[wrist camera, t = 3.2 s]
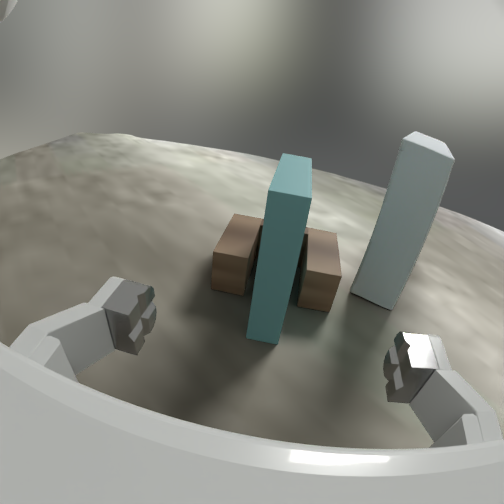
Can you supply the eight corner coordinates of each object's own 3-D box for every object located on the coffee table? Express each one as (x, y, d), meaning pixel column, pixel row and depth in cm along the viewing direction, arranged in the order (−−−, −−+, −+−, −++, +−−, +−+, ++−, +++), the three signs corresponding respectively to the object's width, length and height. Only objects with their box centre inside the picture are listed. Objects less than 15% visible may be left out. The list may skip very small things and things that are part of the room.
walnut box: (329, 312, 28) (341, 276, 26) (211, 288, 29) (213, 251, 27) (327, 264, 34) (336, 233, 32) (231, 246, 35) (234, 213, 33)
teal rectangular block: (277, 344, 24) (311, 198, 18) (245, 338, 24) (268, 190, 18) (288, 273, 32) (311, 158, 26) (264, 268, 33) (282, 153, 26)
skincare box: (396, 315, 28) (456, 158, 20) (347, 294, 30) (394, 135, 22) (415, 238, 44) (446, 141, 36) (384, 226, 46) (411, 128, 38)
